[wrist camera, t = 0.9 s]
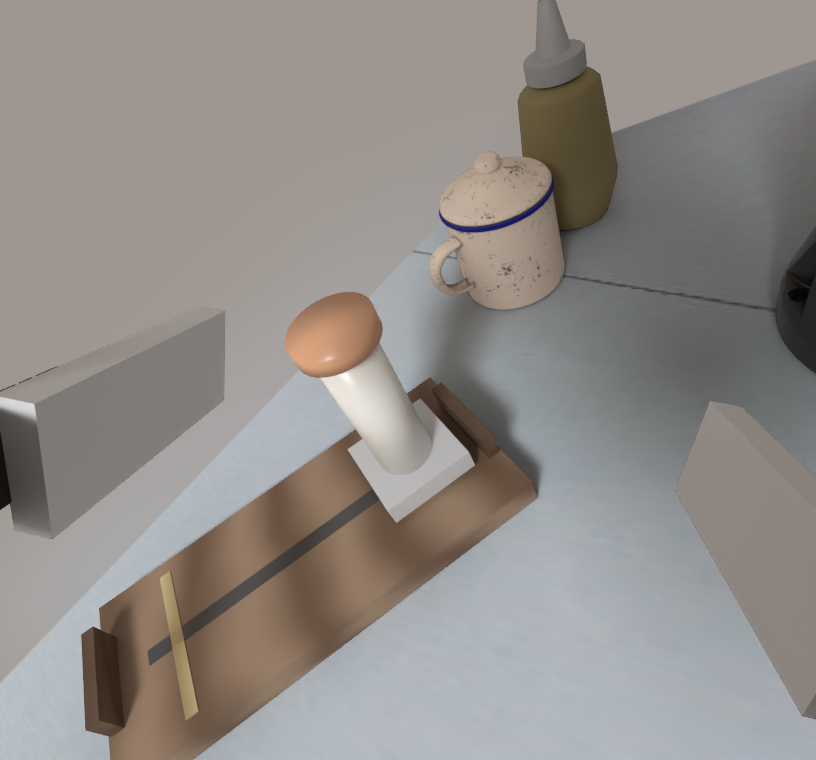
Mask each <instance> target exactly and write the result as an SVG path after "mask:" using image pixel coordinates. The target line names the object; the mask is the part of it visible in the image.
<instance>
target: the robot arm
mask: <svg viewBox="0 0 816 760" xmlns="http://www.w3.org/2000/svg"><path fill="white" fill-rule="evenodd" d="M776 319H777V325H778V329H779V331H780V334H781V336H782V338H783V340H784V341H785V343H786V345H787V346H788V347H789V349H790V350H791V351H792V353H793V354H794V355H795V356H796V357H797V358H798V359H799V360H800V361H801V362H802V363H804V364H805V365H806V366H807V367H808V368H810V369H811V370H812V371H814V372H815V373H816V227H815V228H814V230H813V231H812V233H811V234H810V235H809V237H808V238H807V240H806V241H805V242H804V244H803V245H802V247H801V248H800V250H799V251H798V252H797V254H796V255H795V257H794V258H793V259H792V261H791V262H790V264H789V266H788V267H787V269H786V272H785V274H784V276H783V279H782V282H781V287H780V292H779V297H778V302H777V308H776ZM224 366H225V311H223V310H218V309H213V308H207V307H202V306H198V307H196V308H194V309H191V310H189V311H187V312H184V313H182V314H180V315H177V316H175V317H173V318H171V319H168V320H166V321H163V322H161V323H159V324H157V325H154V326H152V327H150V328H147V329H145V330H143V331H140V332H138V333H136V334H133V335H131V336H129V337H126V338H124V339H122V340H119V341H117V342H115V343H112V344H110V345H108V346H105V347H103V348H101V349H98V350H96V351H94V352H91V353H89V354H87V355H84V356H82V357H80V358H77V359H75V360H73V361H71V362H68V363H66V364H63V365H61V366H58V367H55V368H52V369H50V370H47V371H45V372H43V373H41V374H38V375H36V376H35V377H33V378H32V377H31V378H29V379H26V380H24V381H22V382H19V384H17V385H12V386H10V387H8V388H6V389H3V390H1V391H0V510H1V509H2V508H4V507H5V506H7V505H8V504H10V507H11V513H12V519H13V525H14V530H15V531H18V532H22V533H27V534H31V535H36V536H40V537H44V538H48V539H54V538H55V537H56V536H57V535H58V534H60V533H61V532H62V531H64V530H65V529H66V528H67V527H68V526H70V525H71V524H72V523H73V522H75V521H76V520H77V519H78V518H80V517H81V516H82V515H83V514H84V513H86V512H87V511H88V510H89V509H91V508H92V507H93V506H94V505H95V504H96V503H98V502H99V501H100V500H102V499H103V498H104V497H105V496H107V495H108V494H109V493H110V492H112V491H113V490H114V489H115V488H116V487H118V486H119V485H120V484H121V483H122V482H124V481H125V480H126V479H127V478H129V477H130V476H131V475H132V474H133V473H135V472H136V471H137V470H139V469H140V468H141V467H142V466H143V465H145V464H146V463H147V462H148V461H150V460H151V459H152V458H153V457H155V456H156V455H157V454H158V453H159V452H161V451H162V450H163V449H165V448H166V447H167V446H168V445H169V444H171V443H172V442H173V441H174V440H175V439H177V438H178V437H179V436H181V435H182V434H183V433H184V432H185V431H187V430H188V429H189V428H190V427H192V426H193V425H194V424H195V423H197V422H198V421H199V420H200V419H201V418H203V417H204V416H205V415H206V414H208V413H209V412H210V411H211V410H212V409H214V408H215V407H216V406H217V405H219V404H220V403H221V402H222V401H223V400H224V369H225V367H224ZM675 492H676V494H677V496H678V498H679V499H680V501H681V503H682V505H683V506H684V508H685V510H686V512H687V513H688V515H689V517H690V519H691V521H692V522H693V524H694V526H695V528H696V529H697V531H698V533H699V535H700V536H701V538H702V540H703V542H704V544H705V545H706V547H707V549H708V551H709V552H710V554H711V556H712V558H713V559H714V561H715V563H716V565H717V567H718V568H719V570H720V572H721V574H722V575H723V577H724V579H725V581H726V582H727V584H728V586H729V588H730V590H731V591H732V593H733V595H734V597H735V598H736V600H737V602H738V604H739V605H740V607H741V609H742V611H743V612H744V614H745V616H746V618H747V620H748V621H749V623H750V625H751V627H752V628H753V630H754V632H755V634H756V635H757V637H758V639H759V641H760V643H761V644H762V646H763V648H764V650H765V651H766V653H767V655H768V657H769V658H770V660H771V662H772V664H773V666H774V667H775V669H776V671H777V673H778V674H779V676H780V678H781V680H782V681H783V683H784V685H785V687H786V689H787V690H788V692H789V694H790V696H791V697H792V699H793V701H794V703H795V704H796V706H797V708H798V710H799V711H800V713H801V715H802V716H804V717H808V718H813V719H816V476H814V475H813V474H812V473H811V472H810V471H809V470H808V469H807V468H806V467H805V466H804V465H803V464H802V463H801V462H800V461H799V460H797V459H796V458H795V457H794V456H793V455H792V454H791V453H790V452H789V451H788V450H787V449H786V448H785V447H784V446H783V445H781V444H780V443H779V442H778V441H777V440H776V439H775V438H774V437H773V436H772V435H771V434H770V433H769V432H768V431H767V430H766V429H764V428H763V427H762V426H761V425H760V424H759V423H758V422H757V421H756V420H755V419H754V418H753V417H752V416H751V415H750V414H748V413H747V412H746V411H745V410H744V409H743V408H742V407H741V406H736V405H730V404H725V403H719V402H714V401H710V402H709V405H708V407H707V410H706V413H705V415H704V418H703V420H702V423H701V425H700V428H699V431H698V433H697V436H696V438H695V441H694V443H693V446H692V449H691V451H690V454H689V456H688V459H687V461H686V464H685V467H684V469H683V472H682V474H681V477H680V479H679V482H678V485H677V487H676V490H675Z"/></svg>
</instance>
